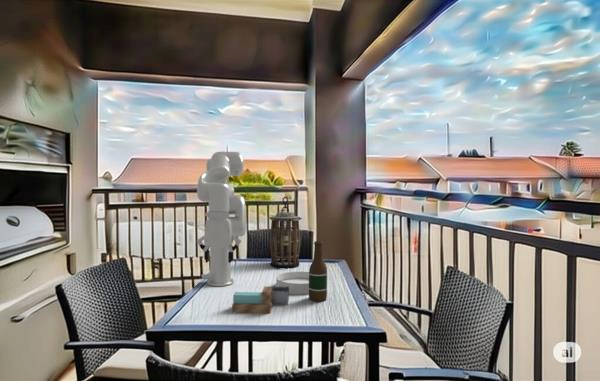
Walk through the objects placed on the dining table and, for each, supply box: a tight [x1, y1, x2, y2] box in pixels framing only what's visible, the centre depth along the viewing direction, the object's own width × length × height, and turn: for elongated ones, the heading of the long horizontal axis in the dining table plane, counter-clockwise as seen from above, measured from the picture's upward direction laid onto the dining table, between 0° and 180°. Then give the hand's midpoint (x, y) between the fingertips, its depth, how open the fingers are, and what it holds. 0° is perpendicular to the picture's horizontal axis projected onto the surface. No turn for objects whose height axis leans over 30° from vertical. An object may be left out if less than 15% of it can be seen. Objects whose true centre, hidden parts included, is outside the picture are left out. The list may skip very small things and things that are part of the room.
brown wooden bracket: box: [231, 285, 273, 314], centre depth 142 cm, size 14×8×8 cm, turn 88°
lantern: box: [268, 196, 302, 270], centre depth 218 cm, size 19×19×40 cm
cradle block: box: [269, 285, 290, 306], centre depth 152 cm, size 8×8×5 cm
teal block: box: [232, 291, 262, 304], centre depth 142 cm, size 12×4×4 cm, turn 88°
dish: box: [275, 271, 309, 296], centre depth 173 cm, size 22×22×5 cm
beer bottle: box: [308, 240, 328, 303], centre depth 156 cm, size 8×8×24 cm
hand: (218, 261), depth 143 cm, fingers open, 8 cm apart
